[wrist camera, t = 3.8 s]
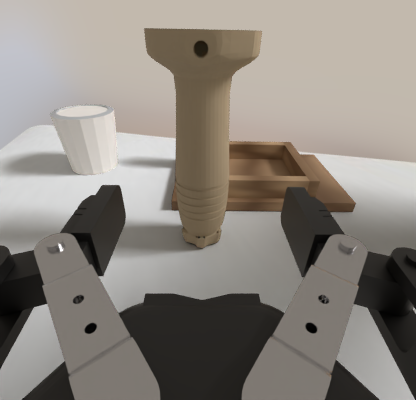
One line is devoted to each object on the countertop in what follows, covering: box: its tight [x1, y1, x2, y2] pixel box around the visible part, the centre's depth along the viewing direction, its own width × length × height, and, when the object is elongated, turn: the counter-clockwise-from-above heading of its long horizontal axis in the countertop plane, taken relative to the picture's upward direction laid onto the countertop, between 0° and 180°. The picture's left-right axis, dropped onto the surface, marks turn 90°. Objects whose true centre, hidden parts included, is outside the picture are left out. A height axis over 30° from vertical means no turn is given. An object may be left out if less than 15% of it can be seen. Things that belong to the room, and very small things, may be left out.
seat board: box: [172, 141, 356, 212], centre depth 29 cm, size 18×12×8 cm, turn 90°
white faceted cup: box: [50, 105, 118, 175], centre depth 32 cm, size 7×7×7 cm
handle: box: [144, 28, 262, 248], centre depth 19 cm, size 5×6×15 cm
